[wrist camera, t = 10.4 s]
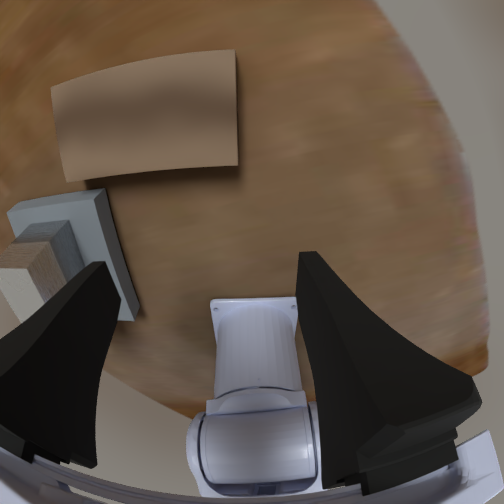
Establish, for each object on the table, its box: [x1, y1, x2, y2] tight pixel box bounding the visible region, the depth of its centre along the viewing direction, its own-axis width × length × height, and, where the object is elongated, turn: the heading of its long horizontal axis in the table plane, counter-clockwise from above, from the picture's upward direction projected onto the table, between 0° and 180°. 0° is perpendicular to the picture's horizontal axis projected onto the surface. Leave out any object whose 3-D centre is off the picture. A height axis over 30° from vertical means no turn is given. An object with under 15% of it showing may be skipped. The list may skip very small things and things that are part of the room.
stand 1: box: [7, 188, 140, 321], centre depth 21 cm, size 12×10×2 cm
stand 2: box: [51, 49, 238, 183], centre depth 15 cm, size 7×12×2 cm, turn 91°
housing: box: [0, 220, 86, 324], centre depth 18 cm, size 4×9×6 cm, turn 1°
